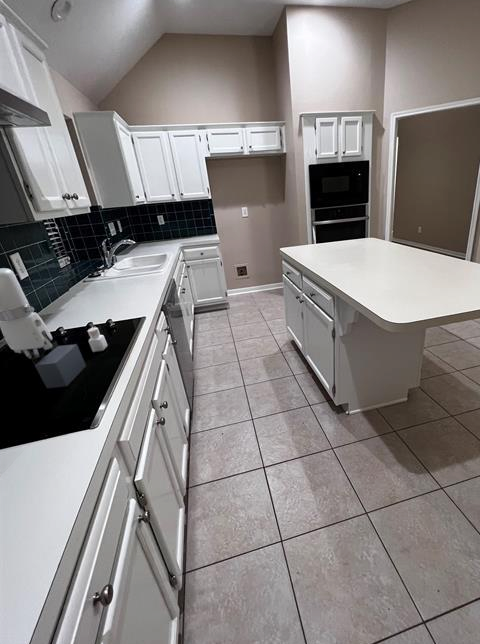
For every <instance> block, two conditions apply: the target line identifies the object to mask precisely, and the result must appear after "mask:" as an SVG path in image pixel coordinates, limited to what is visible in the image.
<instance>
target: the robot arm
mask: <svg viewBox="0 0 480 644" xmlns="http://www.w3.org/2000/svg"><path fill="white" fill-rule="evenodd" d="M34 311H35V307H33V306H31V304H30V303H29V301H28V299H27V297H26V295H25V292H24V291H23V288H22V286H21V284H20V283H19V281H18V278H17V276H16V275H15V272H14V271H13V270H11V269H10V268H6V267H2V268H0V330H1V333H2V335H3V338H4V340H5V342H6V344H7V345H8V347H9V348H10V349H11V350H13V352H14V353H15V354H16V353H18V354H23V355H25V356H26V358H28V359H30V360H31V362H32V363H33V365H34V366H35V365H36V364H37V363H38V362H39V361H41V360H42V359H43V358H44V357H45V356H46V355H45V353H46V351H47V350H50V349H52V348H53V347H54V346H53V344H52V343H51V342H52V341H53V336H52V334H51V332H50V330H49V328H48V326H47V325H46V323H45V322H44V320H43V319H42V318H41V316H40V315H39V314H38V313H37V312H34ZM35 369H36V370H37V368H36V367H35Z"/></svg>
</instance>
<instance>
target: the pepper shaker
mask: <svg viewBox="0 0 480 644" xmlns="http://www.w3.org/2000/svg"><path fill="white" fill-rule="evenodd" d="M87 333H88V336H89V337H90V338H89V339H88V343H89V346H90V349H91V351H92V352H93V353H95V352H102V351H104V350H105V349H107V347H108V343H107V340H106V338H105V335H103V334H101V333H100V330H99V328H98V327H91V328H89V329H88V330H87Z"/></svg>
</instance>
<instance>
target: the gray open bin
mask: <svg viewBox="0 0 480 644" xmlns="http://www.w3.org/2000/svg"><path fill="white" fill-rule="evenodd" d="M86 367H87V364H86V362H85V360H84V357H83V355H82V353H81V351H80V348H79V345H78V344H77V343H73V344H64V345H57V346H56V347H55V348H53V350H51V351H50V352H49V353H48V354H46V355H45V357H44V358H43V359H42V360H41V361H39V362H38V363H37V364H36V365H34V368H35V369H36V368H37V369H36V370H37V373H38V374H39V376H40V378H41V380H42V382H43V384H44V387H46V389H54V388H63V387H64V388H65V387H68V386H69V385H70V383H71V382H73V381H74V379H75V378H77V376H78V375H79V374H80V373H81V372H82V371H83V370H84V369H85V368H86Z"/></svg>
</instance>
